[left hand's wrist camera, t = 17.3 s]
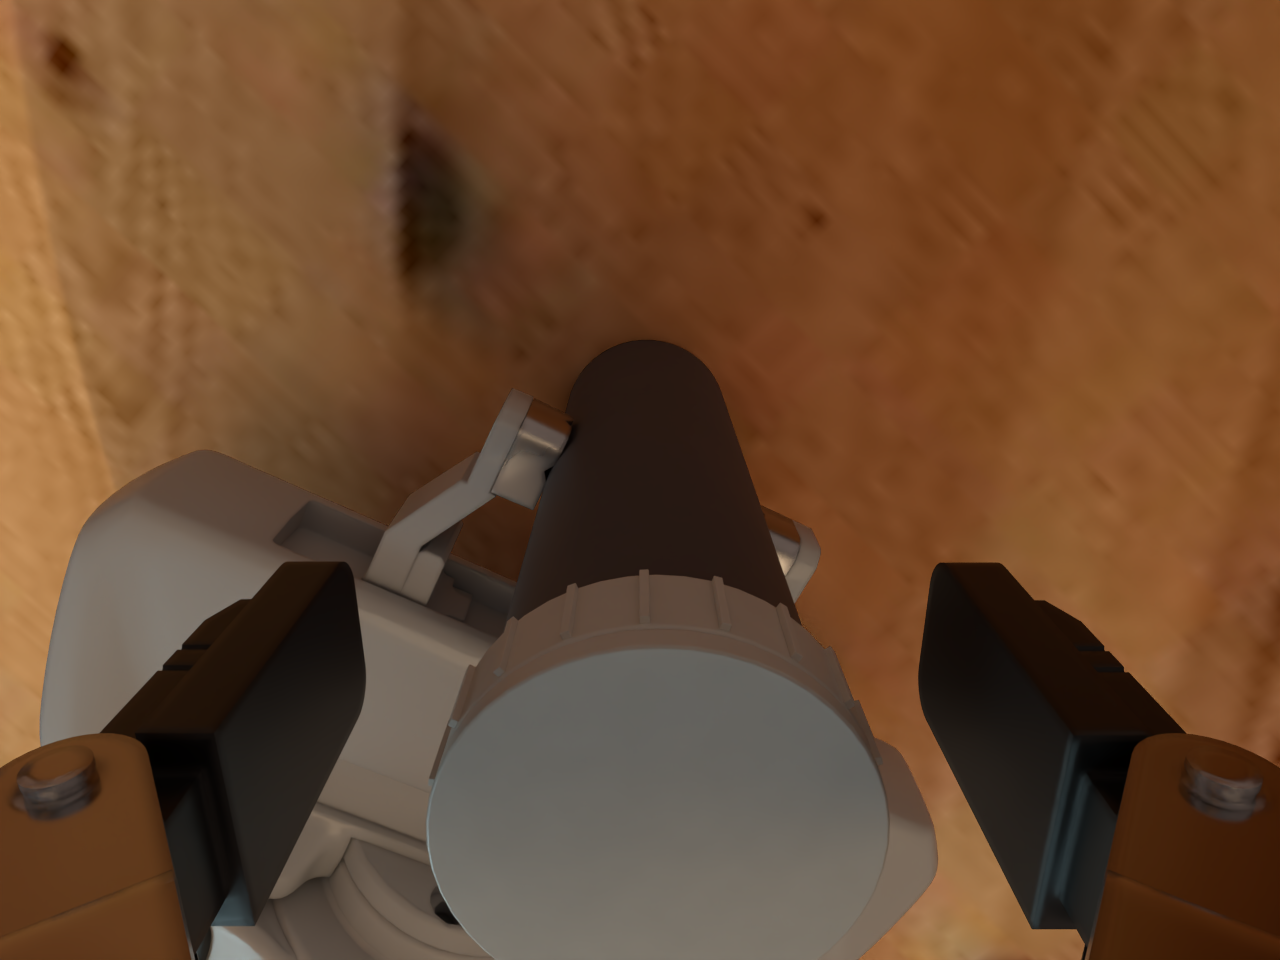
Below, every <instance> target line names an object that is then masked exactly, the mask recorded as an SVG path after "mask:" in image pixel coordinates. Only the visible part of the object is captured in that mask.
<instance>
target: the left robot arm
mask: <svg viewBox="0 0 1280 960" xmlns="http://www.w3.org/2000/svg"><path fill="white" fill-rule="evenodd" d="M918 684H919V695H920V701H921V706H922V710H923V713H924V716H925V718H926V720H927V722H928V724H929V726H930V728H931V730H932V732H933V734H934V736H935V738H936V740H937V742H938V744H939V746H940V748H941V750H942V752H943V754H944V756H945V758H946V760H947V762H948V764H949V766H950V768H951V770H952V772H953V774H954V776H955V778H956V780H957V782H958V784H959V786H960V788H961V790H962V792H963V794H964V796H965V798H966V800H967V802H968V803H969V805H970V807H971V809H972V811H973V813H974V815H975V817H976V819H977V821H978V823H979V825H980V827H981V829H982V831H983V833H984V835H985V837H986V839H987V841H988V843H989V845H990V847H991V849H992V851H993V853H994V855H995V857H996V859H997V861H998V863H999V865H1000V867H1001V869H1002V871H1003V873H1004V875H1005V877H1006V879H1007V881H1008V883H1009V885H1010V887H1011V889H1012V891H1013V893H1014V895H1015V897H1016V898H1017V900H1018V902H1019V904H1020V906H1021V908H1022V910H1023V912H1024V914H1025V916H1026V918H1027V920H1028V922H1029V924H1030V926H1031V928H1032V929H1077V931H1078V933H1079V934H1080V936H1081V938H1082V940H1083V941H1084V943H1085V946H1084V951H1083V955H1082V959H1081V960H1280V768H1279V767H1277V766H1276V765H1274V764H1273V763H1271V762H1269V761H1268V760H1266V759H1264V758H1262V757H1260V756H1258V755H1256V754H1254V753H1252V752H1250V751H1248V750H1245V749H1243V748H1241V747H1238V746H1236V745H1233V744H1230V743H1227V742H1224V741H1221V740H1217V739H1213V738H1209V737H1204V736H1199V735H1193V734H1186V733H1185V731H1184V730H1183V729H1182V728H1181V727H1180V726H1179V725H1178V724H1177V723H1176V722H1175V721H1174V720H1173V719H1172V718H1171V717H1170V716H1169V714H1168V713H1167V712H1166V711H1165V710H1164V709H1163V708H1162V707H1161V706H1160V705H1159V704H1158V703H1157V702H1156V701H1155V700H1154V699H1153V697H1152V696H1151V695H1150V694H1149V693H1148V692H1147V691H1146V690H1145V689H1144V688H1143V687H1142V686H1141V685H1140V684H1139V683H1138V682H1137V680H1136V679H1135V678H1134V677H1133V676H1132V675H1131V674H1130V673H1129V672H1124V667H1123V666H1122V665H1121V664H1120V662H1119V661H1118V660H1117V659H1116V658H1115V657H1114V656H1113V655H1112V654H1111V653H1110V652H1109V651H1105V650H1104V645H1103V644H1102V643H1101V642H1100V641H1099V640H1098V639H1097V638H1096V637H1095V636H1094V635H1093V634H1092V633H1091V632H1090V631H1089V630H1088V628H1087V627H1086V626H1085V625H1084V624H1083V623H1082V622H1081V621H1079V620H1077V619H1076V618H1074V617H1072V616H1071V615H1069V614H1067V613H1065V612H1064V611H1062V610H1060V609H1058V608H1057V607H1055V606H1053V605H1052V604H1050V603H1048V602H1046V601H1045V600H1034V599H1033V598H1032V597H1031V596H1030V595H1029V594H1028V593H1027V592H1026V590H1025V589H1024V588H1023V587H1022V586H1021V585H1020V584H1019V582H1018V581H1017V580H1016V579H1015V578H1014V577H1013V576H1012V575H1011V573H1010V572H1009V571H1008V570H1007V569H1006V568H1005V567H1004V566H1003V565H1002V564H1000V563H939V564H937V565H936V567H935V569H934V571H933V573H932V577H931V581H930V588H929V596H928V603H927V610H926V618H925V625H924V633H923V640H922V648H921V655H920V663H919V673H918ZM365 689H366V665H365V657H364V650H363V642H362V635H361V627H360V619H359V612H358V604H357V597H356V589H355V582H354V577H353V573H352V570H351V568H350V566H349V564H348V563H347V562H344V561H288V562H284V563H283V564H282V565H281V566H280V567H279V568H278V569H277V570H276V571H275V573H274V574H273V575H272V576H271V577H270V578H269V579H268V581H267V582H266V583H265V584H264V585H263V586H262V587H261V589H260V590H259V591H258V592H257V593H256V594H255V595H254V597H253V598H252V599H240V600H238V601H237V602H235V603H233V604H232V605H230V606H228V607H226V608H225V609H223V610H221V611H219V612H218V613H216V614H214V615H213V616H211V617H209V618H207V619H206V620H204V621H203V622H202V624H201V625H200V626H199V627H198V628H197V629H196V630H195V631H194V632H193V633H192V634H191V635H190V636H189V637H188V639H187V640H186V641H185V642H184V643H183V644H182V649H181V650H176V651H175V652H174V654H173V655H172V656H171V657H170V658H169V659H168V660H167V661H166V662H165V663H164V664H163V669H162V671H157V672H156V673H155V674H154V675H153V676H152V677H151V678H150V679H149V680H148V681H147V683H146V684H145V685H144V686H143V687H142V688H141V689H140V690H139V691H138V692H137V693H136V694H135V695H134V696H133V698H132V699H131V700H130V701H129V702H128V703H127V704H126V705H125V706H124V707H123V708H122V709H121V710H120V711H119V713H118V714H117V715H116V716H115V717H114V718H113V719H112V720H111V721H110V722H109V723H108V724H107V725H106V726H105V728H104V729H103V730H102V731H101V732H100V733H97V734H87V735H81V736H76V737H71V738H67V739H63V740H59V741H56V742H53V743H50V744H47V745H44V746H42V747H39V748H37V749H35V750H32V751H30V752H28V753H26V754H24V755H22V756H20V757H18V758H16V759H14V760H12V761H11V762H9V763H7V764H6V765H4V766H3V767H1V768H0V960H199V959H198V955H197V950H198V948H199V946H200V944H201V943H202V941H203V939H204V937H205V935H206V934H207V932H208V930H209V928H210V926H255V925H256V923H257V921H258V919H259V917H260V915H261V913H262V911H263V909H264V907H265V905H266V903H267V901H268V899H269V897H270V895H271V893H272V891H273V889H274V887H275V885H276V883H277V881H278V879H279V877H280V875H281V873H282V871H283V869H284V867H285V865H286V863H287V861H288V859H289V857H290V855H291V852H292V850H293V848H294V846H295V844H296V842H297V840H298V838H299V836H300V834H301V832H302V830H303V828H304V826H305V824H306V822H307V820H308V818H309V816H310V814H311V812H312V810H313V808H314V806H315V804H316V802H317V800H318V798H319V796H320V794H321V792H322V790H323V788H324V786H325V784H326V782H327V780H328V778H329V776H330V774H331V772H332V770H333V768H334V766H335V764H336V762H337V760H338V758H339V756H340V754H341V752H342V750H343V748H344V746H345V744H346V742H347V740H348V738H349V736H350V734H351V732H352V730H353V728H354V726H355V724H356V722H357V720H358V718H359V716H360V713H361V710H362V706H363V702H364V697H365Z"/></svg>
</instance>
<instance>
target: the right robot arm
mask: <svg viewBox="0 0 1280 960" xmlns="http://www.w3.org/2000/svg"><path fill="white" fill-rule="evenodd" d="M573 421H574V417H572V416H570V415H568V414H566V413H564V412H562V411H560V410H558V409H556V408H554V407H552V406H549V405H547V404H545V403H543V402H541V401H539V400H537V399H535V398H534V399H533V396H531V395H528V394H526V393H524V392H521V391H519V390H516V389H514V388H512V389H511V391H510V393H509V395H508V397H507V399H506V401H505V403H504V405H503V407H502V409H501V411H500V413H499V414H498V416H497V418H496V420H495V422H494V425H493V427H492V429H491V431H490V433H489V435H488V438H487V440H486V442H485V444H484V446H483V449H482V451H481V453H479V452H475V453H474V454H472V455H470V456H469V457H467V458H466V459H464V460H463V461H461V462H460V463H458V464H456V465H455V466H453V467H452V468H450V469H449V470H447V471H446V472H444V473H442V474H441V475H439V476H438V477H436V478H435V479H433V480H432V481H430V482H428V483H427V484H425V485H424V486H422V487H421V488H419V489H418V490H416V491H415V492H413V493H411V494H410V495H409V496H408V498H407V499H406V501H405V502H404V504H403V505H402V507H401V508H400V510H399V511H398V513H397V514H396V516H395V517H394V519H393V520H392V522H391V523H390V525H389V526H387V525H384V524H382V523H380V522H378V521H375V520H373V519H371V518H368V517H366V516H364V515H361V514H359V513H357V512H355V511H352V510H350V509H348V508H345V507H343V506H341V505H338V504H336V503H334V502H332V501H329V500H327V499H325V498H322V497H320V496H318V495H315V494H313V493H311V492H308V491H306V490H304V489H302V488H299V487H297V486H295V485H292V484H290V483H288V482H285V481H283V480H281V479H279V478H276V477H274V476H272V475H269V474H267V473H265V472H262V471H260V470H258V469H255V468H253V467H251V466H249V465H246V464H244V463H242V462H240V461H238V460H235V459H233V458H231V457H229V456H226V455H224V454H221V453H219V452H215V451H212V450H198V451H195V452H192V453H189V454H186V455H183V456H181V457H179V458H176V459H174V460H172V461H169V462H167V463H164V464H162V465H160V466H158V467H156V468H154V469H152V470H150V471H148V472H146V473H145V474H143V475H141V476H139V477H138V478H136V479H134V480H133V481H131V482H129V483H128V484H126V485H125V486H124V487H122V488H121V489H120V490H118V491H117V492H115V493H114V494H113V495H111V496H110V497H109V498H108V499H107V500H106V501H105V502H103V503H102V504H101V505H100V506H99V507H98V508H97V509H96V510H95V511H94V512H93V513H92V515H91V516H90V517H89V518H88V520H87V521H86V522H85V524H84V525H83V527H82V529H81V531H80V533H79V535H78V537H77V540H76V543H75V545H74V548H73V551H72V554H71V557H70V560H69V563H68V567H67V570H66V574H65V578H64V581H63V585H62V589H61V593H60V597H59V602H58V606H57V610H56V615H55V619H54V624H53V629H52V634H51V639H50V645H49V651H48V657H47V663H46V670H45V677H44V685H43V693H42V701H41V711H40V743H41V747H42V746H44V745H47V744H50V743H53V742H56V741H59V740H63V739H67V738H71V737H76V736H81V735H87V734H97V733H100V732H101V731H102V730H103V729H104V728H105V726H106V725H107V724H108V723H109V722H110V721H111V720H112V719H113V718H114V717H115V716H116V715H117V714H118V713H119V711H120V710H121V709H122V708H123V707H124V706H125V705H126V704H127V703H128V702H129V701H130V700H131V699H132V698H133V696H134V695H135V694H136V693H137V692H138V691H139V690H140V689H141V688H142V687H143V686H144V685H145V684H146V683H147V681H148V680H149V679H150V678H151V677H152V676H153V675H154V674H155V673H156V672H157V671H162V669H163V664H164V663H165V662H166V661H167V660H168V659H169V658H170V657H171V656H172V655H173V654H174V652H175V651H176V650H181V649H182V644H183V643H184V642H185V641H186V640H187V639H188V637H189V636H190V635H191V634H192V633H193V632H194V631H195V630H196V629H197V628H198V627H199V626H200V625H201V624H202V622H203V621H204V620H206V619H207V618H209V617H211V616H213V615H214V614H216V613H218V612H219V611H221V610H223V609H225V608H226V607H228V606H230V605H232V604H233V603H235V602H237V601H238V600H240V599H252V598H253V597H254V595H255V594H256V593H257V592H258V591H259V590H260V589H261V587H262V586H263V585H264V584H265V583H266V582H267V581H268V579H269V578H270V577H271V576H272V575H273V574H274V573H275V571H276V570H277V569H278V568H279V567H280V566H281V565H282V564H283V563H284V562H288V561H344V562H347V563H348V564H349V566H350V568H351V570H352V573H353V577H354V582H355V589H356V597H357V604H358V612H359V619H360V627H361V635H362V642H363V650H364V657H365V665H366V689H365V697H364V702H363V706H362V710H361V713H360V716H359V718H358V720H357V722H356V724H355V726H354V728H353V730H352V732H351V734H350V736H349V738H348V740H347V742H346V744H345V746H344V748H343V750H342V752H341V754H340V756H339V758H338V760H337V762H336V764H335V766H334V768H333V770H332V772H331V774H330V776H329V778H328V780H327V782H326V784H325V786H324V788H323V790H322V792H321V794H320V796H319V798H318V800H317V802H316V804H315V806H314V808H313V810H312V812H311V814H310V816H309V818H308V820H307V822H306V824H305V826H304V828H303V830H302V832H301V834H300V836H299V838H298V840H297V842H296V844H295V846H294V848H293V850H292V852H291V855H290V857H289V859H288V861H287V863H286V865H285V867H284V869H283V871H282V873H281V875H280V877H279V879H278V881H277V883H276V885H275V887H274V889H273V891H272V893H271V895H270V897H269V899H268V901H267V903H266V905H265V907H264V909H263V911H262V913H261V915H260V917H259V919H258V921H257V923H256V925H255V926H210V928H209V930H208V932H207V934H206V935H205V937H204V939H203V941H202V943H201V944H200V946H199V948H198V950H197V955H198V959H199V960H496V959H494V958H493V957H492V956H491V955H489V954H488V953H487V952H485V951H484V950H483V949H482V948H481V947H480V946H479V945H478V944H477V943H476V942H475V941H474V940H473V939H472V938H471V937H470V936H469V935H468V934H467V933H466V931H465V930H464V929H463V927H462V926H461V925H460V923H459V922H458V921H457V919H456V918H455V917H454V915H453V914H452V913H451V911H450V909H449V907H448V905H447V904H446V902H445V900H444V898H443V896H442V895H441V893H440V890H439V888H438V885H437V882H436V880H435V877H434V874H433V871H432V868H431V863H430V858H429V853H428V848H427V836H426V817H427V810H428V802H429V796H430V792H431V789H432V786H428V781H429V776H430V773H431V770H432V767H433V764H434V761H435V759H436V756H437V753H438V750H439V747H440V744H441V741H442V738H443V735H444V732H445V729H446V726H447V723H448V720H449V719H450V716H451V713H452V710H453V707H454V704H455V701H456V698H457V695H458V692H459V689H460V686H461V683H462V680H463V677H464V674H465V671H466V669H467V668H468V666H469V665H470V664H471V665H473V666H475V667H476V666H477V664H478V663H479V661H480V660H481V659H482V657H483V656H484V654H485V653H486V651H487V650H488V649H489V648H490V647H491V646H492V645H493V644H494V643H495V641H496V640H497V639H498V638H499V637H500V636H501V635H502V634H503V630H504V627H505V623H506V620H507V616H508V612H509V609H510V605H511V602H512V598H513V595H514V591H515V588H516V584H517V582H516V581H513V580H511V579H509V578H506V577H504V576H502V575H499V574H497V573H495V572H493V571H490V570H488V569H486V568H483V567H481V566H479V565H476V564H474V563H472V562H470V561H467V560H465V559H463V558H460V557H458V556H456V555H453V554H451V551H452V549H453V546H454V544H455V542H456V540H457V537H458V535H459V533H460V531H461V528H462V526H463V522H462V519H463V518H464V517H466V516H467V515H469V514H470V513H472V512H473V511H475V510H476V509H478V508H479V507H481V506H482V505H484V504H485V503H487V502H488V501H490V500H491V499H493V498H494V497H496V495H498V496H500V497H503V498H505V499H508V500H510V501H512V502H515V503H517V504H519V505H522V506H524V507H526V508H529V509H531V510H534V508H535V506H536V504H537V502H538V500H539V498H540V496H541V494H542V492H543V489H544V486H545V483H546V480H547V477H548V473H549V470H550V469H549V468H551V467H553V466H554V465H555V464H556V462H557V460H558V459H559V457H560V455H561V453H562V451H563V449H564V447H565V445H566V442H567V440H568V437H569V435H570V432H571V429H572V427H571V425H572V423H573ZM760 506H761V505H760ZM761 509H762V512H763V515H764V517H765V520H766V523H767V526H768V529H769V532H770V535H771V538H772V541H773V543H774V546H775V549H776V552H777V555H778V558H779V561H780V564H781V567H782V570H783V572H784V575H785V578H786V581H787V584H788V587H789V590H790V593H791V596H792V598H793V601H794V604H795V602H796V600H797V599H798V597H799V596H800V594H801V592H802V591H803V589H804V588H805V586H806V584H807V583H808V581H809V580H810V578H811V577H812V575H813V573H814V572H815V570H816V568H817V565H818V561H819V558H820V554H821V548H820V546H819V544H818V542H817V539H816V537H815V535H814V533H813V531H812V529H811V528H809V527H807V526H804V525H802V524H800V523H798V522H796V521H794V520H792V519H790V518H788V517H785V516H783V515H781V514H779V513H777V512H775V511H772V510H770V509H768V508H766V507H764V506H761ZM874 739H875V742H876V744H877V747H878V749H879V752H880V754H881V757H882V760H883V764H882V765H878V767H879V770H880V773H881V776H882V780H883V783H884V786H885V790H886V793H887V799H888V807H889V815H890V831H889V846H888V850H887V855H886V860H885V865H884V869H883V872H882V874H881V877H880V879H879V882H878V885H877V887H876V890H875V892H874V894H873V896H872V897H871V899H870V901H869V903H868V904H867V906H866V908H865V910H864V912H863V913H862V914H861V916H860V917H859V918H858V920H857V921H856V922H855V923H854V925H853V926H852V927H851V929H850V930H849V931H848V932H847V933H846V934H845V935H844V936H843V937H842V938H841V939H840V940H839V941H838V942H837V943H836V944H835V945H834V946H833V947H832V948H831V949H830V950H829V951H828V952H827V953H825V954H824V955H823V956H821V957H820V958H819V959H818V960H858V959H859V958H861V957H862V956H863V955H864V954H865V953H866V952H867V951H868V950H869V949H870V948H871V947H872V946H874V945H875V944H876V943H877V942H878V941H879V940H880V939H881V938H882V937H883V936H884V935H885V934H886V933H887V932H888V931H889V930H890V929H891V928H892V927H893V926H894V925H895V924H896V923H897V921H898V920H899V919H900V918H901V917H902V916H903V915H904V914H905V913H906V912H907V911H908V910H909V909H910V908H911V907H912V906H913V904H914V903H915V902H916V901H917V900H918V899H919V898H920V896H921V895H922V894H923V893H924V892H925V890H926V889H927V888H928V887H929V885H930V884H931V882H932V881H933V879H934V877H935V875H936V871H937V866H938V852H937V842H936V836H935V831H934V825H933V822H932V820H931V817H930V814H929V812H928V809H927V807H926V804H925V802H924V799H923V797H922V795H921V792H920V790H919V788H918V786H917V784H916V782H915V780H914V777H913V775H912V773H911V771H910V769H909V767H908V765H907V763H906V761H905V760H904V758H903V756H902V755H901V754H900V752H899V751H898V750H897V749H896V748H894V747H893V746H891V745H889V744H888V743H886V742H884V741H882V740H879V739H877V738H875V737H874Z"/></svg>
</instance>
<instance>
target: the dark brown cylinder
mask: <svg viewBox="0 0 1280 960" xmlns="http://www.w3.org/2000/svg"><path fill="white" fill-rule="evenodd" d="M565 413H566V414H568V415H570V416H572V417H574V421H573V423H572V425H571V427H572V429H571V432H570V435H569V437H568V440H567V442H566V445H565V447H564V449H563V451H562V453H561V455H560V457H559V459H558V460H557V462H556V464H555V465H554V466H553V467H551V468H549V469H550V470H549V473H548V477H547V480H546V483H545V486H544V489H543V493H542V496H541V500H540V503H539V507H538V510H537V514H536V517H535V521H534V524H533V528H532V531H531V535H530V539H529V542H528V546H527V549H526V553H525V556H524V560H523V563H522V567H521V570H520V574H519V577H518V581H517V584H516V588H515V591H514V595H513V598H512V602H511V605H510V609H509V612H508V616H507V620H506V623H507V621H508V620H509V619H510V618H512V617H513V616H514V617H515V618H516V619H517V620H520V619H521V618H522V617H523V616H525V615H526V614H528V613H529V612H531V611H533V610H534V609H536V608H538V607H539V606H541V605H543V604H544V603H546V602H548V601H549V600H552V599H554V598H556V597H558V596H561V595H563V594H565V593H566V591H567V586H568V585H571V584H574V583H576V585H577V587H578V588H580V587H584V586H587V585H590V584H593V583H597V582H600V581H605V580H611V579H616V578H622V577H627V576H639V570H645V569H648V570H649V575H672V576H686V577H692V578H698V579H703V580H709V581H712V579H713V576H717V577H721V578H722V579H723V584H724V585H727V586H730V587H733V588H737V589H739V590H742V591H744V592H746V593H748V594H751V595H753V596H755V597H757V598H760V599H762V600H764V601H766V602H768V603H769V604H771V605H772V606H774V607H777V606H778V605H779V603H782V604H783V605H785V606H787V608H788V611H789V614H790V617H791V618H792V619H793V620H795V621H796V622H797V623H798V624H800V625H801V626H802V624H801V622H800V619H799V616H798V613H797V610H796V607H795V604H794V601H793V598H792V596H791V593H790V590H789V587H788V584H787V581H786V578H785V575H784V572H783V570H782V567H781V564H780V561H779V558H778V555H777V552H776V549H775V546H774V543H773V541H772V538H771V535H770V532H769V529H768V526H767V523H766V520H765V517H764V515H763V512H762V509H761V506H760V503H759V500H758V497H757V494H756V491H755V488H754V486H753V483H752V480H751V477H750V474H749V471H748V468H747V465H746V462H745V460H744V457H743V454H742V451H741V448H740V445H739V442H738V439H737V436H736V434H735V431H734V428H733V425H732V422H731V419H730V416H729V413H728V410H727V407H726V405H725V402H724V399H723V396H722V393H721V390H720V388H719V385H718V383H717V381H716V380H715V378H714V376H713V375H712V373H711V372H710V371H709V369H708V368H707V367H706V366H705V365H704V364H703V363H702V362H701V361H700V360H699V359H698V358H696V357H695V356H694V355H693V354H691V353H689V352H688V351H686V350H685V349H682V348H680V347H678V346H676V345H673V344H669V343H666V342H661V341H655V340H639V341H631V342H627V343H623V344H620V345H617V346H615V347H612V348H610V349H608V350H607V351H605V352H603V353H601V354H600V355H599V356H597V357H596V358H595V359H593V360H592V361H591V362H590V363H589V364H588V365H587V366H586V367H585V369H584V370H583V371H582V373H581V374H580V375H579V377H578V379H577V380H576V382H575V384H574V386H573V389H572V391H571V394H570V398H569V401H568V405H567V408H566V412H565ZM506 623H505V627H506ZM505 627H504V630H503V633H504V631H505Z"/></svg>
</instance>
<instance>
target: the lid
mask: <svg viewBox="0 0 1280 960" xmlns="http://www.w3.org/2000/svg"><path fill="white" fill-rule="evenodd" d="M882 764H883V760H882V757H881V754H880V752H879V749H878V747H877V744H876V742H875V739H874V737H873V734H872V732H871V729H870V727H869V724H868V722H867V719H866V717H865V714H864V712H863V709H862V707H861V704H860V702H859V700H856V701H854V699H853V697H852V694H851V692H850V689H849V687H848V684H847V682H846V679H845V677H844V674H843V671H842V669H841V666H840V664H839V661H838V659H837V656H836V654H835V651H834V650H833V649H832V647H831V646H829V647H828V648H826V649H824V648H823V647H822V646H821V645H820V644H819V643H818V642H817V641H816V639H815V638H814V637H813V636H812V635H811V634H810V633H809V632H808V631H807V630H806V629H805V628H803V627H802V626H801V625H800V624H798V623H797V622H796V621H795V620H793V619H792V618H791V617H790V614H789V611H788V608H787V606H785V605H783V604H782V603H779V605H778V606H777V607H774V606H772V605H771V604H769V603H768V602H766V601H764V600H762V599H760V598H757V597H755V596H753V595H751V594H748V593H746V592H744V591H742V590H739V589H737V588H733V587H730V586H727V585H724V584H723V579H722V578H721V577H717V576H713V579H712V581H709V580H703V579H698V578H692V577H686V576H672V575H649V570H648V569H645V570H639V576H627V577H622V578H616V579H611V580H605V581H600V582H597V583H593V584H590V585H587V586H584V587H580V588H578V587H577V585H576V583H574V584H571V585H568V586H567V591H566V593H565V594H563V595H561V596H558V597H556V598H554V599H552V600H549V601H548V602H546V603H544V604H543V605H541V606H539V607H538V608H536V609H534V610H533V611H531V612H529V613H528V614H526V615H525V616H523V617H522V618H521V619H520V620H517V619H516V618H515V617H514V616H513V617H512V618H510V619H509V620H508V621H507V623H506V627H505V631H504V633H503V634H502V635H501V636H500V637H499V638H498V639H497V640H496V641H495V643H494V644H493V645H492V646H491V647H490V648H489V649H488V650H487V651H486V653H485V654H484V656H483V657H482V659H481V660H480V661H479V663H478V664H477V666H476V667H475V666H473V665H471V664H470V665H469V666H468V668H467V669H466V671H465V674H464V677H463V680H462V683H461V686H460V689H459V692H458V695H457V698H456V701H455V704H454V707H453V710H452V713H451V716H450V719H449V720H448V723H447V726H446V729H445V732H444V735H443V738H442V741H441V744H440V747H439V750H438V753H437V756H436V759H435V761H434V764H433V767H432V770H431V773H430V776H429V781H428V786H432V789H431V792H430V796H429V802H428V810H427V817H426V836H427V848H428V853H429V858H430V863H431V868H432V871H433V874H434V877H435V880H436V882H437V885H438V888H439V890H440V893H441V895H442V896H443V898H444V900H445V902H446V904H447V905H448V907H449V909H450V911H451V913H452V914H453V915H454V917H455V918H456V919H457V921H458V922H459V923H460V925H461V926H462V927H463V929H464V930H465V931H466V933H467V934H468V935H469V936H470V937H471V938H472V939H473V940H474V941H475V942H476V943H477V944H478V945H479V946H480V947H481V948H482V949H483V950H484V951H485V952H487V953H488V954H489V955H491V956H492V957H493V958H494V959H496V960H818V959H819V958H820V957H821V956H823V955H824V954H825V953H827V952H828V951H829V950H830V949H831V948H832V947H833V946H834V945H835V944H836V943H837V942H838V941H839V940H840V939H841V938H842V937H843V936H844V935H845V934H846V933H847V932H848V931H849V930H850V929H851V927H852V926H853V925H854V923H855V922H856V921H857V920H858V918H859V917H860V916H861V914H862V913H863V912H864V910H865V908H866V906H867V904H868V903H869V901H870V899H871V897H872V896H873V894H874V892H875V890H876V887H877V885H878V882H879V879H880V877H881V874H882V872H883V869H884V865H885V860H886V855H887V850H888V846H889V831H890V815H889V807H888V799H887V793H886V790H885V786H884V783H883V780H882V776H881V773H880V770H879V767H878V765H882Z"/></svg>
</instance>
